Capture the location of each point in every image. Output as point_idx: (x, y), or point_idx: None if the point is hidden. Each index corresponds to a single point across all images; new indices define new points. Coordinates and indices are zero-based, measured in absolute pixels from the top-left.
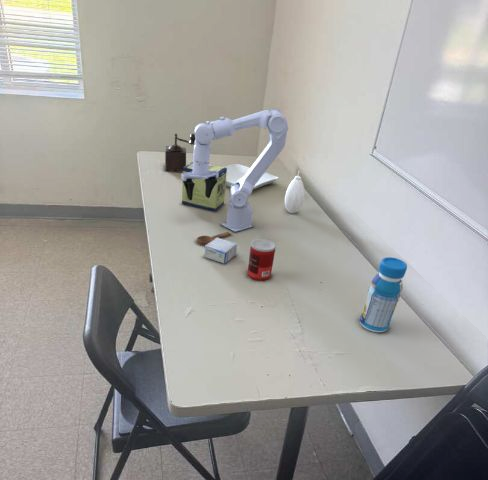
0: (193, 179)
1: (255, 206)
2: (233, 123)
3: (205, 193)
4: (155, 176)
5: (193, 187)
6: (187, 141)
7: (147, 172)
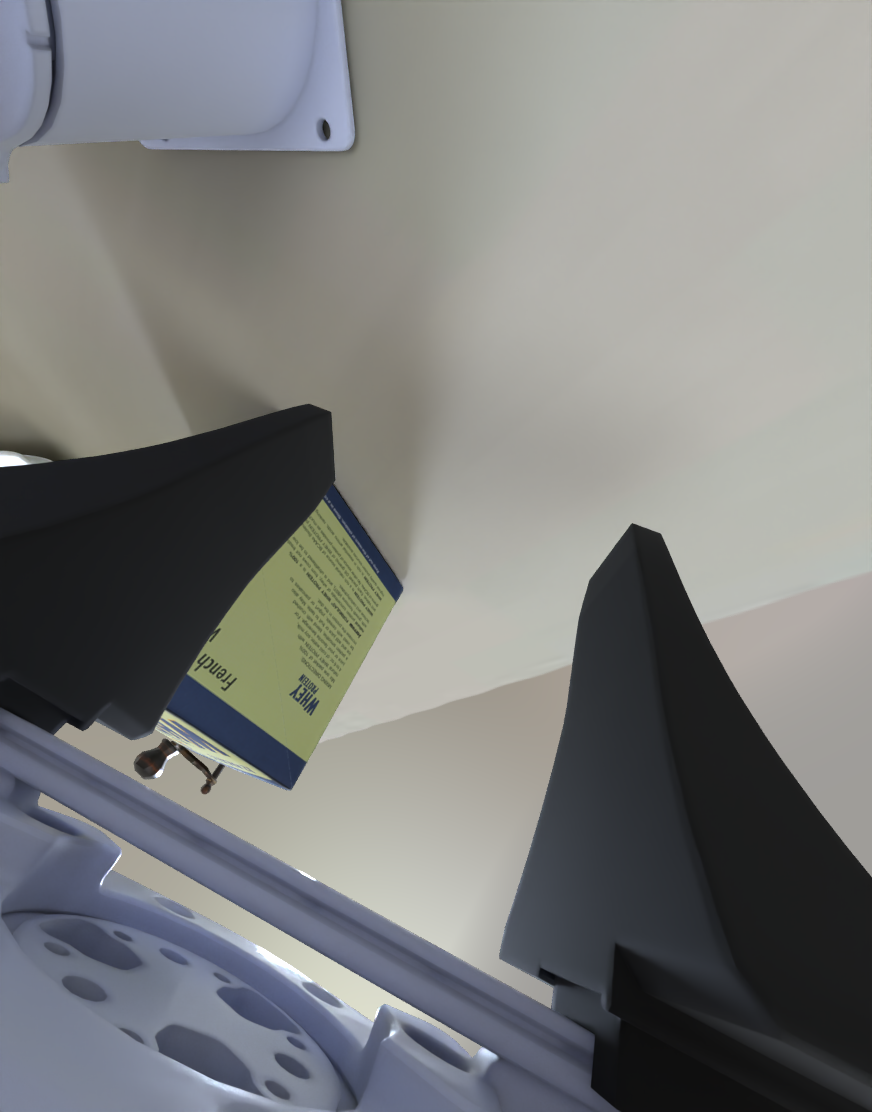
0: (281, 681)
1: (5, 302)
2: None
3: (315, 504)
4: (352, 708)
5: (681, 763)
6: (183, 753)
7: (359, 724)
